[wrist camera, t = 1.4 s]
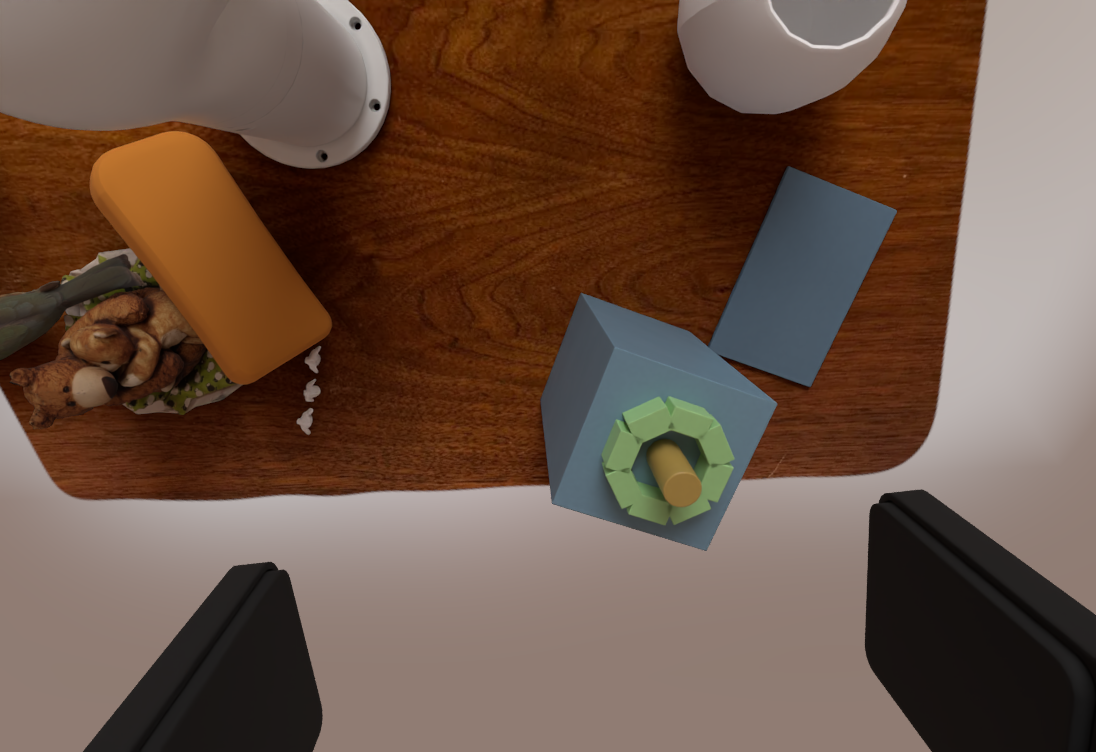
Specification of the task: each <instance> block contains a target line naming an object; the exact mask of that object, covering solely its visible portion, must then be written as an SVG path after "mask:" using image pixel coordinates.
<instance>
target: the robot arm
mask: <svg viewBox="0 0 1096 752" xmlns="http://www.w3.org/2000/svg"><path fill="white" fill-rule="evenodd" d="M357 23H360V24H361V28H360V29H359V30H356V29H355V25H356V24H357ZM390 94H391V80H390V70H389V65H388V61H387V57H386V54H385V51H384V49H383V46H382V44H381V42H380V39H379V37H378V36H377V34H376V33H375V31H374V29H373V28H372V26H371V25H370V23H369V22H368V20H367V19H366V18H365V17H364V16H363V15H362V13H361V12H360V11H359V10H358V9H356V8H355V7H354V6H353V5H352V4H351V3H350V2H349V1H348V0H0V112H1V113H4V114H7V115H10V116H13V117H17V118H20V119H24V120H27V121H31V122H34V123H39V124H43V125H48V126H53V127H59V128H67V129H75V130H95V131H112V130H126V129H132V128H139V127H145V126H150V125H155V124H159V123H164V122H168V121H177V122H184V123H190V124H195V125H200V126H205V127H209V128H214V129H219V130H223V131H228V132H233V133H238V134H240V135H241V136H242V137H243V138H244V139H245V140H246V141H247V142H248V143H249V144H250V145H251V146H252V147H254V148H255V149H256V150H258V151H259V152H261V153H262V154H264V155H265V156H267V157H269V158H271V159H273V160H275V161H278V162H280V163H282V164H286V165H290V166H294V167H298V168H307V169H314V168H327V167H331V166H336V165H340V164H342V163H344V162H346V161H348V160H350V159H352V158H354V157H355V156H357V155H358V154H359V153H361V152H362V151H363V150H365V149H366V148H367V147H368V145H369V144H370V143H371V142H372V141H373V140H374V138H375V137H376V136H377V134H378V132H379V130H380V129H381V127H382V125H383V123H384V120H385V117H386V114H387V111H388V108H389V102H390ZM375 104H379V105H380V109H379V110H375V109H374V105H375ZM324 153H326V154H327V156H328V158H327V160H324V159H323V158H322V155H323V154H324ZM867 572H868V573H867V601H866V628H865V630H866V631H865V651H866V656H867V659H868V662H869V664H870V667H871V669H872V670H873V672H874V673H875V675H876V676H877V678H878V679H879V680H880V682H881V683H882V684H883V685H884V687H885V688H886V690H887V691H888V693H889V694H890V695H891V697H892V698H893V699H894V701H895V702H896V703H897V705H898V706H899V707H900V709H901V710H902V712H903V713H904V714H905V716H906V717H907V718H908V720H909V721H910V722H911V724H912V725H913V727H914V728H915V729H916V731H917V732H918V733H919V735H920V736H921V738H922V739H923V740H924V742H925V743H926V744H927V746H928V747H929V748H930V750H931V751H932V752H1096V615H1095V614H1094V613H1092V612H1091V611H1090V610H1088V609H1087V608H1085V607H1084V606H1083V605H1081V604H1080V603H1079V602H1077V601H1076V600H1075V599H1073V598H1072V597H1070V596H1069V595H1068V594H1066V593H1065V592H1064V591H1062V590H1061V589H1059V588H1058V587H1057V586H1055V585H1054V584H1053V583H1051V582H1050V581H1049V580H1047V579H1046V578H1044V577H1043V576H1042V575H1040V574H1039V573H1038V572H1036V571H1035V570H1033V569H1032V568H1031V567H1029V566H1028V565H1026V564H1025V563H1024V562H1022V561H1021V560H1020V559H1018V558H1017V557H1016V556H1014V555H1013V554H1012V553H1010V552H1009V551H1007V550H1006V549H1004V548H1003V547H1002V546H1001V545H999V544H998V543H996V542H995V541H994V540H992V539H991V538H990V537H988V536H987V535H985V534H984V533H983V532H981V531H980V530H979V529H977V528H976V527H975V526H973V525H972V524H970V523H969V522H968V521H966V520H965V519H963V518H962V517H961V516H959V515H958V514H957V513H955V512H954V511H952V510H951V509H950V508H948V507H947V506H946V505H944V504H943V503H942V502H940V501H939V500H937V499H936V498H935V497H934V496H932V495H931V494H929V493H928V492H926V491H924V490H912V491H904V492H894V493H885V494H884V495H882V496H881V498H880V500H879V503H878V504H874V505H872V507H871V509H870V515H869V543H868V571H867ZM321 726H322V706H321V701H320V698H319V693H318V689H317V685H316V681H315V677H314V673H313V669H312V665H311V661H310V657H309V653H308V649H307V645H306V641H305V637H304V633H303V629H302V625H301V621H300V617H299V613H298V609H297V605H296V601H295V597H294V593H293V589H292V585H291V581H290V577H289V574H288V573H287V572H286V571H285V570H278V568H277V567H276V565H275V564H274V563H272V562H265V563H256V564H247V565H238V566H234V567H232V568H231V569H230V570H229V571H228V572H227V574H226V575H225V576H224V577H223V579H222V580H221V581H220V582H219V584H218V585H217V586H216V587H215V588H214V590H213V591H212V592H211V593H210V595H209V596H208V597H207V598H206V600H205V601H204V602H203V603H202V605H201V606H200V607H199V608H198V610H197V611H196V612H195V613H194V615H193V616H192V617H191V618H190V619H189V621H188V622H187V623H186V625H185V626H184V627H183V628H182V629H181V631H180V632H179V633H178V634H177V636H176V637H175V638H174V639H173V641H172V642H171V643H170V644H169V646H168V647H167V648H166V649H165V650H164V652H163V653H162V654H161V656H160V657H159V658H158V659H157V660H156V662H155V663H154V664H153V665H152V667H151V668H150V669H149V670H148V672H147V673H146V674H145V675H144V677H143V678H142V679H141V680H140V681H139V683H138V684H137V685H136V687H135V688H134V689H133V690H132V692H131V693H130V694H129V695H128V696H127V698H126V699H125V700H124V701H123V703H122V704H121V705H120V707H119V708H118V709H117V710H116V711H115V713H114V714H113V715H112V716H111V717H110V719H109V720H108V721H107V722H106V724H105V725H104V726H103V727H102V729H101V730H100V731H99V732H98V734H97V735H96V736H95V737H94V739H93V740H92V741H91V742H90V744H89V745H88V746H87V747H86V748H85V750H84V751H83V752H313V750H314V747H315V744H316V741H317V739H318V737H319V733H320V731H321Z"/></svg>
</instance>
